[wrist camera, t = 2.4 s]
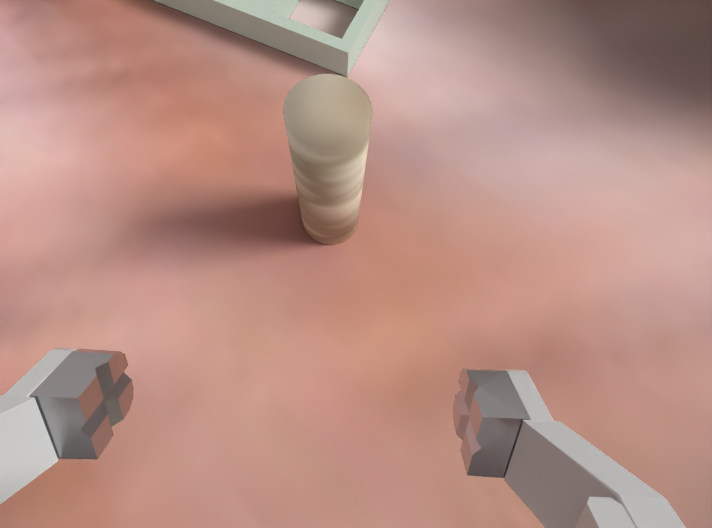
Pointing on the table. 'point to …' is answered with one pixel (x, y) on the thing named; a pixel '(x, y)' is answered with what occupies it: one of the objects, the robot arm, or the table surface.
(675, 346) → the table surface
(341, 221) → the loose leg
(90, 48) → the table surface
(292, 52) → the stool seat
